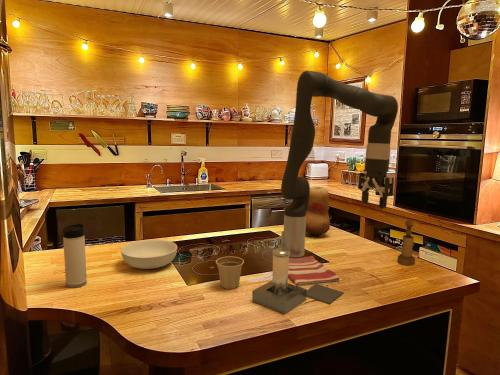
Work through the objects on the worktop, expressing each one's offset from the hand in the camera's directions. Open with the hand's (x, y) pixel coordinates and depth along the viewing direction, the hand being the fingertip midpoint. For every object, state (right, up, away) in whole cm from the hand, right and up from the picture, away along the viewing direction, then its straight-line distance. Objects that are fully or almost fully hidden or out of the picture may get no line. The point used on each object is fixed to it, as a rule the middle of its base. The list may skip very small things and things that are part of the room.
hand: (373, 205), depth 121 cm
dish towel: (-21, -26, +15) cm, 37 cm away
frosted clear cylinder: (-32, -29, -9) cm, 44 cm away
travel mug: (-99, -26, 0) cm, 103 cm away
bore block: (-32, -29, -9) cm, 44 cm away
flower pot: (-48, -27, +1) cm, 56 cm away
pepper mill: (+22, -25, +26) cm, 43 cm away
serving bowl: (-80, -24, +19) cm, 86 cm away
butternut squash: (-8, -19, +63) cm, 66 cm away
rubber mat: (-18, -29, -4) cm, 34 cm away
